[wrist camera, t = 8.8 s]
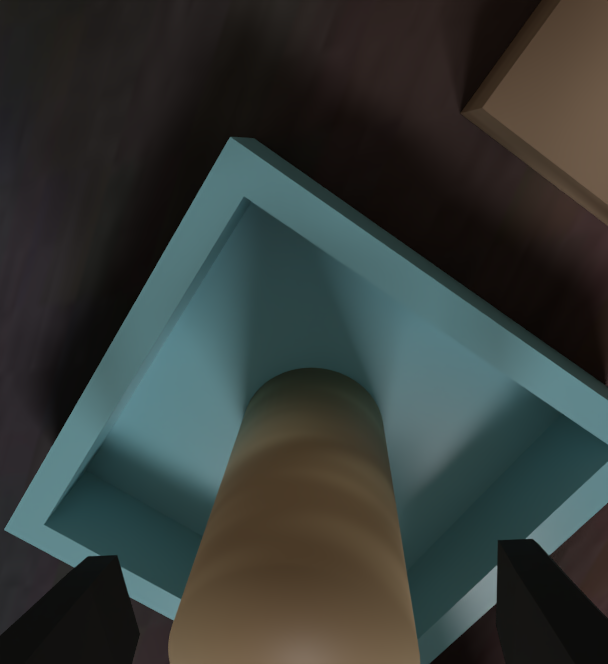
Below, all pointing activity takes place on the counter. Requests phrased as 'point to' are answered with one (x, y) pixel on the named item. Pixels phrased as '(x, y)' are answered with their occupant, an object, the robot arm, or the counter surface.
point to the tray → (327, 353)
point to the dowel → (301, 538)
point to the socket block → (554, 99)
